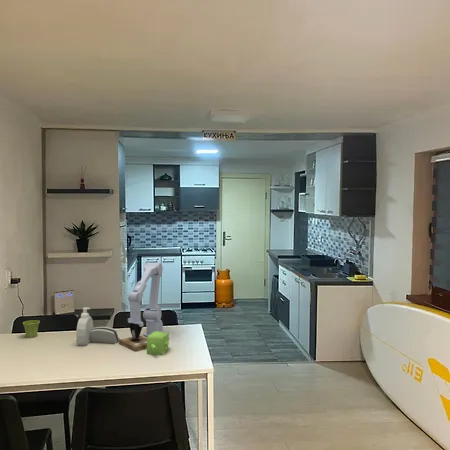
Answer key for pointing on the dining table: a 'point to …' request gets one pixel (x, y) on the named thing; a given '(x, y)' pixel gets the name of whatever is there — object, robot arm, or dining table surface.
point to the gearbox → (157, 342)
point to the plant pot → (31, 328)
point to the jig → (134, 343)
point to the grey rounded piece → (104, 335)
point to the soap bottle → (84, 328)
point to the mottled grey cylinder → (134, 336)
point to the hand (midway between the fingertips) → (135, 336)
